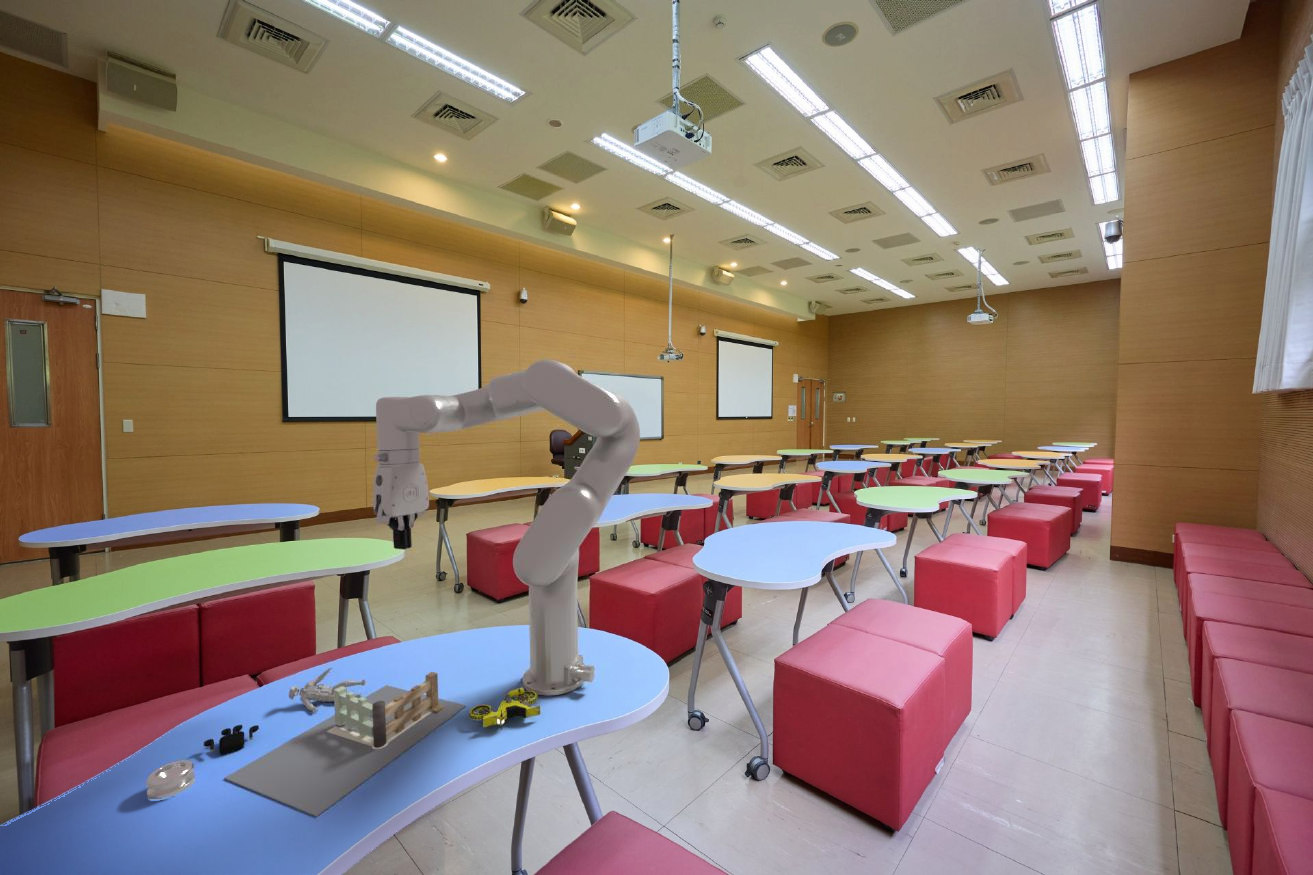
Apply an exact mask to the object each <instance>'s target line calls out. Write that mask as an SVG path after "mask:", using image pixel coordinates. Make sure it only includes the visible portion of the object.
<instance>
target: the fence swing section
mask: <svg viewBox="0 0 1313 875" xmlns="http://www.w3.org/2000/svg"><path fill="white" fill-rule="evenodd" d="M355 694H356V693H355V692H352V691H349V692H348V687H343V686H341V687H339V688H337V689H334V701H333V702H334V715H335V724H337V725H339V726H341V725H343V724H345V723H347V728H348V729H350V730H353V729H354V728H357V729H359V734H360V735H362V736H365V735H367V734H369V735H371V736H373V722H371V721H369V720H368V717H370V718H373V709H372V704H370V703H368V702H367V698H365V697H364V696H361V698H357V697H355ZM355 711H357V712H358V713H359V715H357V714H356V712H355Z"/></svg>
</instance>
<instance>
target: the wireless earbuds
mask: <svg viewBox="0 0 1313 875" xmlns="http://www.w3.org/2000/svg"><path fill="white" fill-rule="evenodd" d="M243 728H244V727H243V724H237V725H234V726H233V728H232V729H231V728H230V727H228V728H224V729H222V730H221V732H220V735H221V737H220V738H219V741H218V742H219V743H218V751H219V752H218V753H219V754H220V756H221V755H222V756H225V755H228V754H227V753H229V754H232V753H234V751H235V752H238V751H240V750H242V749H243V748H244V747H245V742H246V741H245V732H244V731H242V729H243ZM258 730H260V726H259V725H253V726H250V727H249V729H248V735H249V736H248V737H249V738H248V740H250V741H251V740H253V737H254V736H253V734H254V733H257V731H258ZM203 746H204V747H206V748H207V747H210V748H209V749H210V750H209V751H210V753H213V752H214V751H215V750H214V749H215V740H214V739H213V738H209V739H207V740H205V741H204V742H203ZM231 752H232V753H231ZM224 754H225V755H224Z"/></svg>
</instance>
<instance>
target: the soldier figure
mask: <svg viewBox="0 0 1313 875" xmlns="http://www.w3.org/2000/svg"><path fill="white" fill-rule="evenodd" d="M333 669H334V668H333V667H329V668H327V669H326V670H325V671H323V673H322V674H320V675H318V676H317V678H315V679H312V680H311V681H308V682H307V683H306V684H305V685H304V687H302V686H299V687H298V686H297V685H296V686H295V685H294V686H293V685H292V686H291V687H290V689H289V691H288V692H289V693H288V698H289V699H290V700H294V698H295V697H296V696H297V697H298V696H300V699H299V700H300V702H302V704H303V705H304V706H305V707H306V709H307V710H308V711H311V712H313V713H318V711H319V707H316V706H314V705H313V704H312V702H311V701H314V702H319V701H320V702H324V703H329V702H330V703H333V702H334V689H337V688H339V687H341V686H343V687H346V688H349V687H355V686H365V685H366V683H367V679H363V680H362V681H361V680H360V681H359V680H350V679H346V680H343V681H341V682H338V683H336V684H335V685H334V686H331V685H325V684H324V683H320V682H322V681H323V680H324V679H325V677H326V676H327V675H328V674H330V671H332V670H333ZM301 687H302V688H301ZM355 697H357V698H361V697H363V693H355Z"/></svg>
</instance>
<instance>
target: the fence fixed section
mask: <svg viewBox="0 0 1313 875" xmlns="http://www.w3.org/2000/svg"><path fill="white" fill-rule="evenodd" d="M438 677H439V675H438V672H434V671H431V672H428V673H426V674H425V681H424V682H422V683H420V684H418V685H417V684H416V685H415V686H412V687H411V688H410V690H408V691H409V692H407V693H405V694H404V695H402V696H398V697H397V698H395V699H394V701H392V702H391V703H389V704H387V705H386V706H385V701H377V702H375V703H374V704H373V705H372V709H373V736H374V747H375V748H379V747H382V746H384V745H385V744H386V736H387V735H388V734H390V733H391V732H393V731H394V730H395V732H396V733H400V732H401V731H403V730H404V724H405V723H406V722H408V721H409V720H411V719H412V721H417V720H419V719H420V718H421V712H422V711H424V710H429V711H433V712H435V713H439V712H440V711H442V710H443V709H444V706H441V705H438V698H439V683H438V681H439V678H438ZM421 695H426V698H424V699H423V700H421V697H420V696H421ZM410 702H412V707H410V708H409V709H407V710H406V711H404V706H405V705H407V704H408V703H410ZM393 713H394V719H392V720H390V721H389V722H387V723H386V718H387V717H388V716H390V715H391V714H393Z"/></svg>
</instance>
